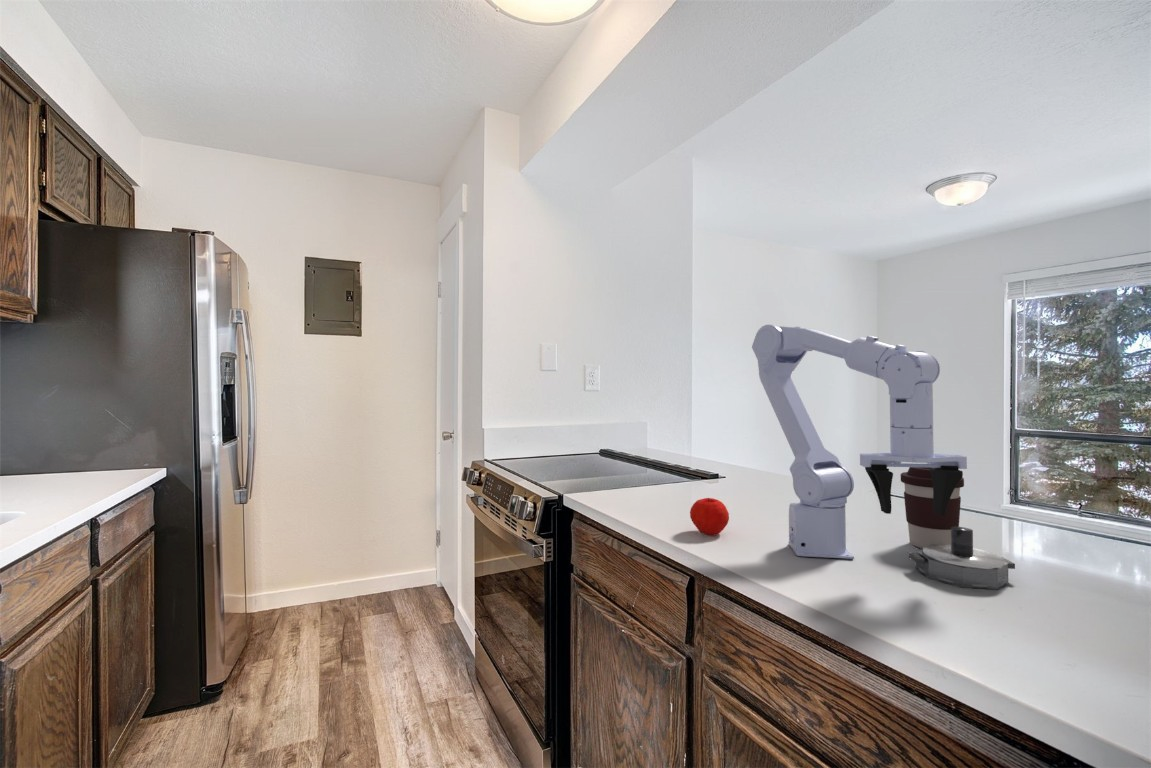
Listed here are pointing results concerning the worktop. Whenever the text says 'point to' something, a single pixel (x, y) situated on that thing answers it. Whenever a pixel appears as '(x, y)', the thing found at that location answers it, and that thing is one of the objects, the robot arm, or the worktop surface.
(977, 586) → the pot
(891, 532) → the worktop surface
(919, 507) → the coffee cup
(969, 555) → the lid
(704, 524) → the apple
